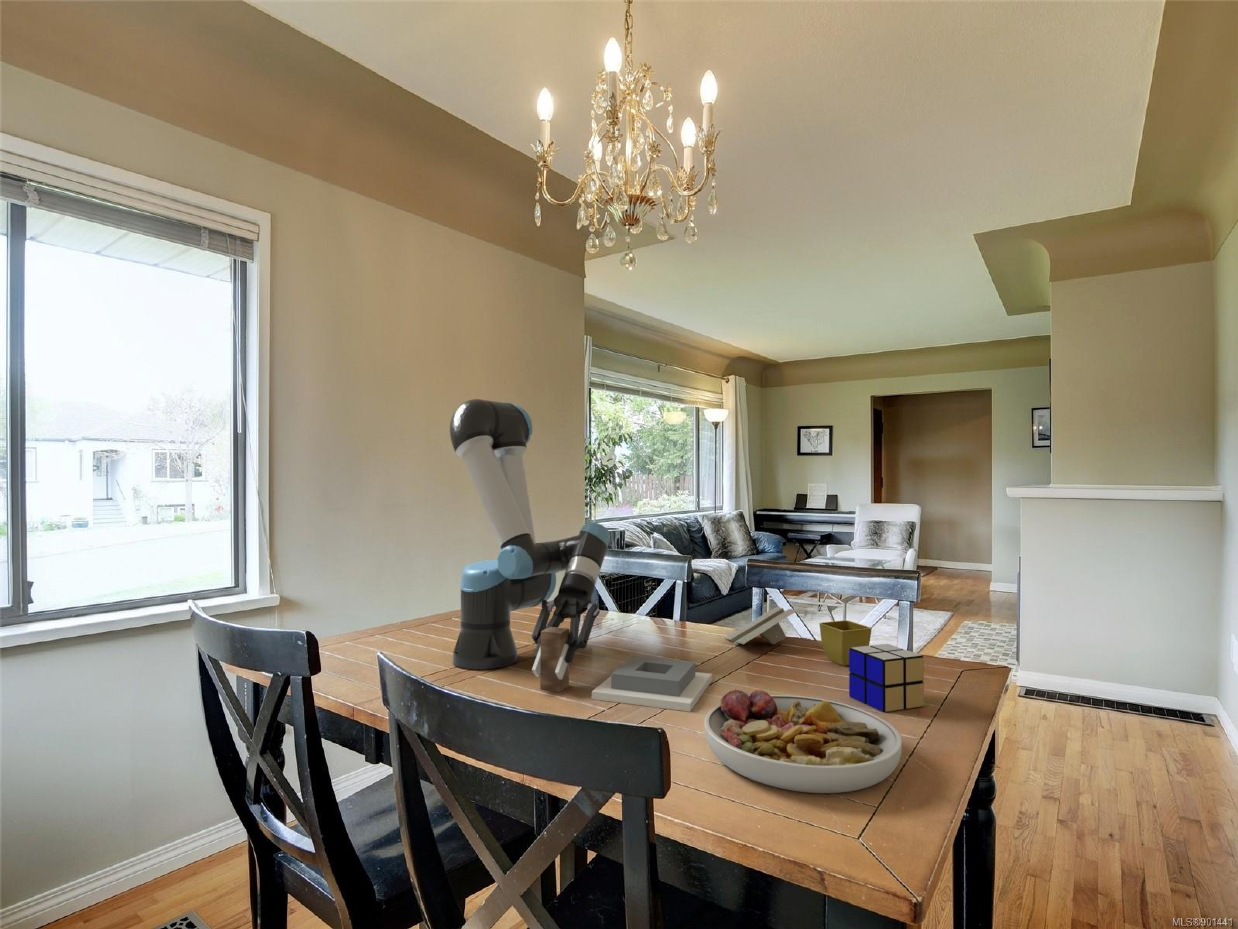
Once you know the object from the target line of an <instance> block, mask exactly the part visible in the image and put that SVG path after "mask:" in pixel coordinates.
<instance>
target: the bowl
mask: <svg viewBox="0 0 1238 929" xmlns="http://www.w3.org/2000/svg"><path fill="white" fill-rule="evenodd" d="M720 701H721V702H720V704H717V705H716V706H715V707H713V708H711V709H710V710H709V711H708V712H707V713H706V716H705V718H704V735H705V739H706V742H707V744H708V746H709V749H711V751H712V752H713V753H714V755H715V757H717V758H718V760H719V761H720V762H722V763H723V764H724V765H725V766H727V767H728V768H729V769H731V770H732V771H734V772H736V773H737V774H739V775H741V776H742V777H746V778H747V779H749V780H752V781H754V782H757V783H760V784H762V785H766V786H769V787H773V788H778V789H782V790H786V791H787V790H788V791H793V792H799V793H807V794H808V793H809V794H810V793H813V794H839V793H848V792H856V791H859V790H863V789H866V788H869V787H872V786H874V785H876V784H878V783H880V782H882V781H884V780H885V779H886V778H888V777H889V776H890V775H891V774H892V773H893V772H894V771H895V769H896V768H897V766H898V765H899V762H900V760H901V757H902V751H903V744H902V743H903V741H902V737H901V734H900V733H899V731H898V730H897V728H895V727H894V726H893V725H892V724H891V723H889V722H888V721H887V720H885V719H883V718H882V717H879V715H876V714H874V713H872V712H869V711H868V710H864V709H862V708H858V707H856V706H853V705H851V704H846V703H842V702H838V701H833V700H829V699H824V698H823V699H822V698H818V697H817V698H816V697H812V696H811V697H810V696H802V695H787V694H770V693H768V692H767V691H764V690H754V691H752V692H751V693H749V694H747V692H745V691H743V690H739V689H733V690H731V691H728V692H727V693H726V694H724V695H723V696H722V697H721V699H720Z"/></svg>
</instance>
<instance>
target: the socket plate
mask: <svg viewBox="0 0 1238 929" xmlns="http://www.w3.org/2000/svg"><path fill="white" fill-rule="evenodd" d="M712 681H713V674H712V673H709V672H700V671H699V672H697V671H696V662H695V661H686V660H678V659H676V660H675V659H665V658H655V657H649V656H648V657H647V656H637V655H633V656H632V657H629V659H628V660H626V661H625V662H624V663H623V664H621V665H620V666H619V667H618V668H616V669H615V670H614V671H612V672H611V674H610V676H609V677H608V678H607V679H605V680H604V681H603V682H601V683H600V684H599V685H598V686H597V687H596V688H594V689H593V690H592V691H591V700H597V701H605V702H612V703H621V704H628V705H634V706H635V705H636V706H644V707H651V708H659V709H668V710H674V711H675V710H676V711H683V712H689V713H690V712H691V711H692V709H694V707H695V706H696V704H697V703H698V701H699V700H700V699H701V697H702V696H703V694H704V693H705V691H706V690H707V688H708V687H709V686H710V684H711V683H712Z"/></svg>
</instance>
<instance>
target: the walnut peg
mask: <svg viewBox="0 0 1238 929" xmlns="http://www.w3.org/2000/svg"><path fill="white" fill-rule="evenodd" d="M569 633H570V627H569V628H567V627H549V628H547V629H545V630H543V631H541V673H540V676H539V677H540V680H539V681H540V682H539V683H540V684H539V686H540V687H539V688H540V691H542V690H543V691H549V692H557V693H559V692H562V691H564V690H565V689H566V688H568V687H569V686H570V663H567V666H566V669H565V672H564V675H563V679H558V677H557V675H556V673H555V670H556V668H557V665H558V662H559V659H560V656H561V653H562V650H563V647H564V644H568V646H569V643H568V641H569Z"/></svg>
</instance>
